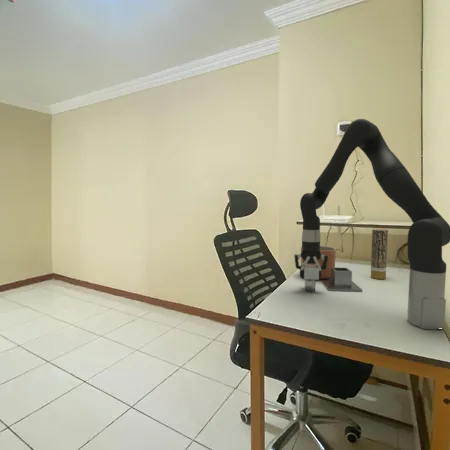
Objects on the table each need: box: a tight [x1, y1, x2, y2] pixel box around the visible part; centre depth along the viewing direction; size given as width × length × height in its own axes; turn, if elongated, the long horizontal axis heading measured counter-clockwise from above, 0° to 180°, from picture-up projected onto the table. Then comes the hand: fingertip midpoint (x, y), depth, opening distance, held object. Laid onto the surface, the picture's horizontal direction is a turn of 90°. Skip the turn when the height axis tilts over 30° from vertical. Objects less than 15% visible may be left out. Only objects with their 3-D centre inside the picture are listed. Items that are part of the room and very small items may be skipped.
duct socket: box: [320, 266, 363, 293], centre depth 129 cm, size 14×14×8 cm
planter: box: [300, 245, 337, 280], centre depth 145 cm, size 17×17×15 cm
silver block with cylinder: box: [303, 264, 320, 294], centre depth 124 cm, size 9×6×11 cm, turn 173°
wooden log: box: [370, 227, 389, 280], centre depth 143 cm, size 7×7×25 cm
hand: (310, 278), depth 123 cm, fingers closed on silver block with cylinder, 6 cm apart
